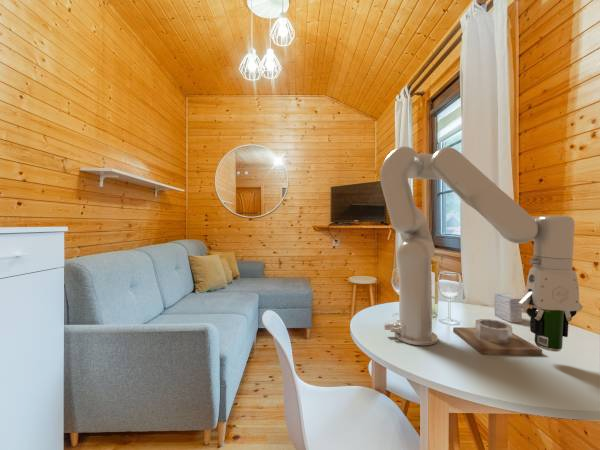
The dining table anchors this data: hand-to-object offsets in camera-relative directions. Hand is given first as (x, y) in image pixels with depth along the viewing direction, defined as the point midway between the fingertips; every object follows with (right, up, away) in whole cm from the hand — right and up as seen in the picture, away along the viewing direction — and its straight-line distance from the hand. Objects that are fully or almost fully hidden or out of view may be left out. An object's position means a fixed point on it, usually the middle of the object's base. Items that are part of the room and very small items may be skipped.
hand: (548, 333), depth 73 cm
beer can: (0, -4, 0) cm, 4 cm away
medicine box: (+14, -7, +33) cm, 36 cm away
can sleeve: (-5, -6, +13) cm, 15 cm away
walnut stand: (-5, -8, +13) cm, 16 cm away
